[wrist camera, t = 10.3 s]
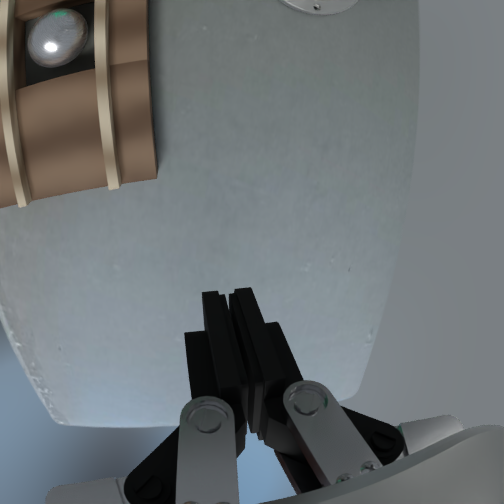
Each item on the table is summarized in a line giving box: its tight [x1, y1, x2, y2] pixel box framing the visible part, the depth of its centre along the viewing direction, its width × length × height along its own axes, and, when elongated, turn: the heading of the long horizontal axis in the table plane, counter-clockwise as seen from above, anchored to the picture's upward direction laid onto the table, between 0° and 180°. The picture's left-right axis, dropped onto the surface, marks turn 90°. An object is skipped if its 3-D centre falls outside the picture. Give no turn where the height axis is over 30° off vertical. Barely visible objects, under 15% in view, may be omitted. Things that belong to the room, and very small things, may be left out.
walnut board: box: [0, 0, 158, 208], centre depth 23 cm, size 22×18×4 cm
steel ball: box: [27, 8, 88, 68], centre depth 20 cm, size 6×6×6 cm
